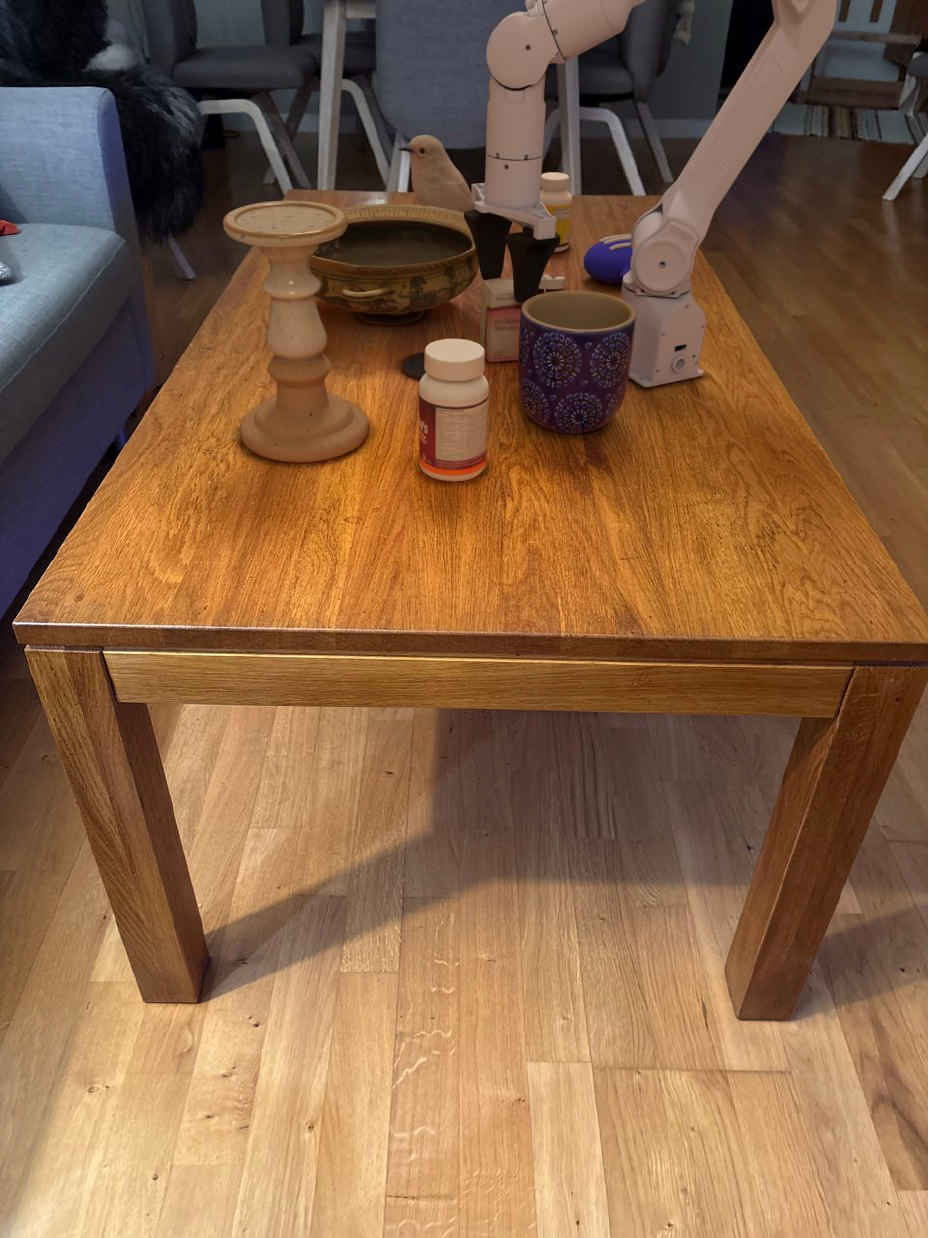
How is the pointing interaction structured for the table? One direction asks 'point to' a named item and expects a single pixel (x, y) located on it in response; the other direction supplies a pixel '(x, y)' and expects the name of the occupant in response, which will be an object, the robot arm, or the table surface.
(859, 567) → the table surface
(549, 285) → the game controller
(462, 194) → the bird
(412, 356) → the slate coaster
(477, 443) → the pill bottle
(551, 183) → the supplement bottle
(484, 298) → the small box
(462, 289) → the ceramic bowl
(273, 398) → the candle holder
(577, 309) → the planter
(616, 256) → the decorative object
